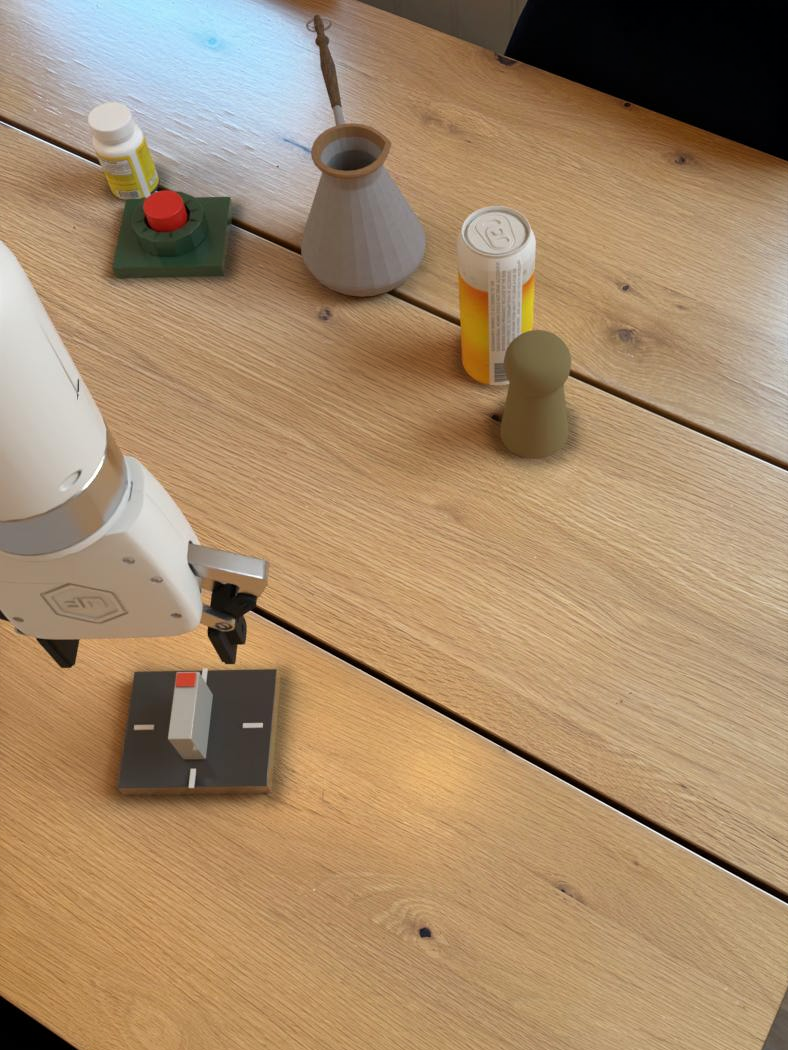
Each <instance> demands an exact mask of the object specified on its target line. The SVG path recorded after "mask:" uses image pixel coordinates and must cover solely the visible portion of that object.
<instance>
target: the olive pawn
mask: <svg viewBox="0 0 788 1050" xmlns="http://www.w3.org/2000/svg"><path fill="white" fill-rule="evenodd" d="M571 368H572V358H571V353H570V349H569V347H568V346H567V344H566V343H565V341H564V340H563V339H562V338H561V337H560V336H558V335H557V334H555V333H554V332H550V331H548V330H542V329H533V330H532V331H527V332H525V333H522V334H520V335H519V336H518V337H516V338H515V339H514V340H513V341H512V342H511V343H510V345H509V346H508V348H507V350H506V353H505V357H504V369H505V374H506V377H507V379H508V381H509V382H510V384H508V390H507V393H506V397H505V404H504V409H503V414H502V418H501V423H500V428H499V434H500V439H501V441H502V443H503V445H504V446H505V447H506V449H508V450H509V451H510V452H511V453H513V454H515V455H516V456H519V457H521V458H524V459H533V460H537V459H545V458H548V457H550V456H552V455H555V454H556V453H558V452H559V451H560V450H561V449H562V448H563V447H564V446H565V444H566V443H567V441H568V438H569V431H570V430H569V423H568V422H569V420H568V412H567V411H568V410H567V402H566V393H565V383H566V382H567V381H568V378H569V377H570V375H571V374H570V373H571Z"/></svg>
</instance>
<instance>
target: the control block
mask: <svg viewBox="0 0 788 1050" xmlns="http://www.w3.org/2000/svg"><path fill="white" fill-rule="evenodd" d="M172 191H173V190H172ZM173 192H175V193H177V194H179V195H180V196H181V198H182V200H183V203H184V206H185V209H186V212H187V215H188V218H187V222H186V224H185V225H184V226H183V227H182V228H179V229H177V230H174V231H172V232H157V231H155V230H153V229H152V228H151V227H150V225H149V223H148V220H147V218H146V215H145V212H144V209H143V205H144V202H145V200H146V199H147V198H148V197H147V198H145V199H126V201H125V202H124V208H123V212H122V217H121V222H120V227H119V233H118V238H117V243H116V246H115V247H116V248H115V253H114V258H113V261H112V262H113V263H112V267H111V268H112V270H113V273H114V275H115V277H116V279H151V278H153V279H155V278H159V279H161V278H162V279H163V278H202V277H205V278H206V277H225V275H226V266H227V260H228V259H227V258H228V252H229V245H230V238H231V237H230V236H231V230H232V229H231V228H232V221H233V214H234V205H233V201H232V197H231V196H201V197H199V196H198V197H197V196H193V195H192V194H191V195H190V194H188V193H186V192H184V191H180V190H178V191H177V190H175V191H173Z"/></svg>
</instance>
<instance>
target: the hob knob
mask: <svg viewBox="0 0 788 1050" xmlns="http://www.w3.org/2000/svg"><path fill="white" fill-rule="evenodd" d="M212 699H213V694H212V692H211V691H210V689H209V687H208V686H207V684H206V683H205V681H204V679H203V678H202V676H201V674H200V673H199V672H177V673H176V680H175V688H174V696H173V703H172V711H171V718H170V726H169V734H168V740H169V741H170V742H171V744H172V745H173V746H174V748H175V749H176V750H177V751H178V753H179V754H180V755H181V757H182V758H183V759H184V760H185V759H206V753H207V744H208V735H209V726H210V717H211V708H212Z"/></svg>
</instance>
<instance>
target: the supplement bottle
mask: <svg viewBox="0 0 788 1050" xmlns="http://www.w3.org/2000/svg"><path fill="white" fill-rule="evenodd" d="M87 123H88V126H89V129H90V132H91V134H92V139H91V141H92V146H93V149H94V152H95V155H96V157H97V159H98V162H99V164H100V167H101V170H102V171H103V174H104V176H105V179H106V181H107V184H108V186H109V189H110V191H111V193H112V195H113V196H114V197H116V198H117V199H119V200H120V201H121V200H122V201H125V202H126V199H145V198H147V197H149V196H150V195H152V194H153V193H156V192H157V190H158V188H159V187H160V177H159V174H158V171H157V169H156V166H155V162H154V160H153V157H152V155H151V152H150V149H149V147H148V143H147V140H146V137H145V135H144V132H143V130H142V129H141V128H140V126H139V125H138V124H137V123H136V122H135V119H134V116H133V114H132V111H131V109H130V108H129V107H128V105H126V104H124V103H121V102H117V101H109V102H105V103H101V104H99V105H97V106H95V107H94V108H93V109H92V110H91V111H90V112H89V114H88V116H87Z"/></svg>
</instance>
